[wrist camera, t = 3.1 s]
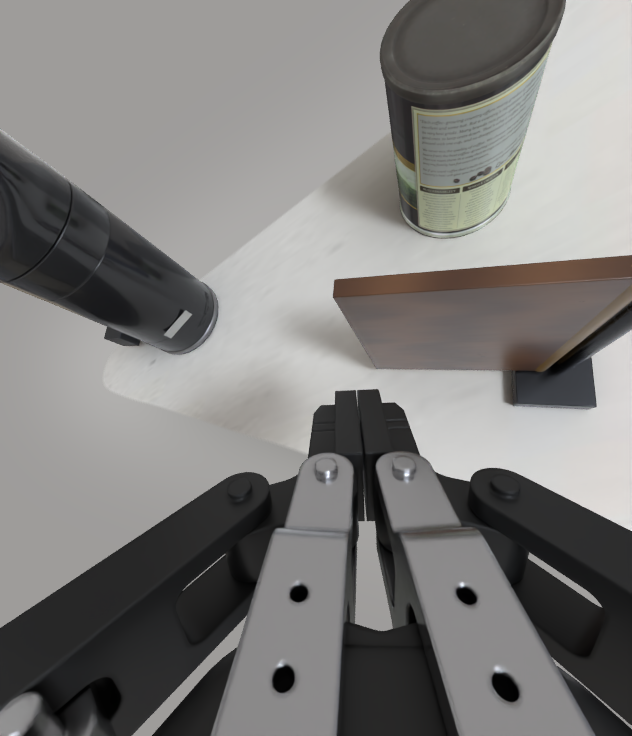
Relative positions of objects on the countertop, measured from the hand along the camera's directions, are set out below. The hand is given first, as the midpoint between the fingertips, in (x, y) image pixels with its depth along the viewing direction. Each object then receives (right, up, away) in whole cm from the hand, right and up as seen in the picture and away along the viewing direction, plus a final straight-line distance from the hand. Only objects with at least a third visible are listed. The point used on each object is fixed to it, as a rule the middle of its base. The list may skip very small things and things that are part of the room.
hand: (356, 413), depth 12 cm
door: (+10, +2, +15) cm, 18 cm away
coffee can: (+12, +19, +21) cm, 31 cm away
